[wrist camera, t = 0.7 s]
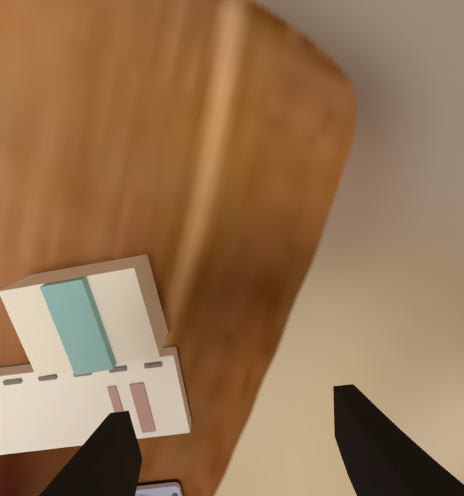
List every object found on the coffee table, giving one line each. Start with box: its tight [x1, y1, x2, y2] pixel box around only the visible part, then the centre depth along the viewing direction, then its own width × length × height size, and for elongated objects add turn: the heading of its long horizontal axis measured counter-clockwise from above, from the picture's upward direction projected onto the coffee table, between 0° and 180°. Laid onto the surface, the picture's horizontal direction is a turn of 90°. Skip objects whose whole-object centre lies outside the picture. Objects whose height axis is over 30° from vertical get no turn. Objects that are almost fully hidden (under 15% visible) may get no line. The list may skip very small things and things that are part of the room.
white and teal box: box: [0, 254, 168, 377], centre depth 17 cm, size 6×8×4 cm
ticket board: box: [0, 347, 191, 455], centre depth 20 cm, size 7×18×1 cm, turn 97°
